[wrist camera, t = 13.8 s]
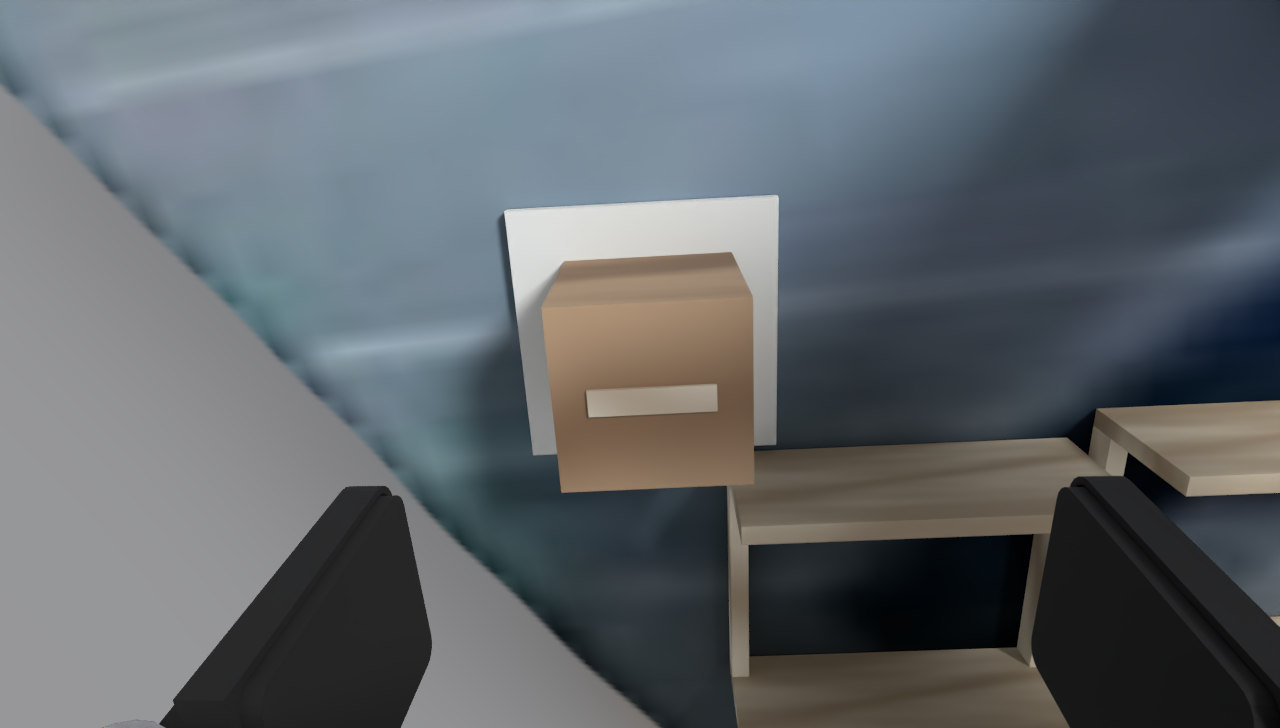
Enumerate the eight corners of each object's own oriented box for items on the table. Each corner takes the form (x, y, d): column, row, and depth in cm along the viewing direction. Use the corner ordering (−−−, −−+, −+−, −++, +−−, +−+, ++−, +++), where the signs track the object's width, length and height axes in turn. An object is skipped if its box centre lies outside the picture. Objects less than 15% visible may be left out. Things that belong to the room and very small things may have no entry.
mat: (506, 209, 22) (504, 211, 22) (776, 194, 22) (778, 196, 22) (534, 449, 25) (533, 455, 25) (774, 439, 25) (776, 444, 24)
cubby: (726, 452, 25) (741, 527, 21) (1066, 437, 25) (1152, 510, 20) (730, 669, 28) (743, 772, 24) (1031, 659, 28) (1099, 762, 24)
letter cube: (561, 261, 22) (536, 309, 18) (731, 252, 22) (753, 297, 17) (575, 413, 24) (556, 494, 19) (733, 406, 24) (754, 486, 19)
